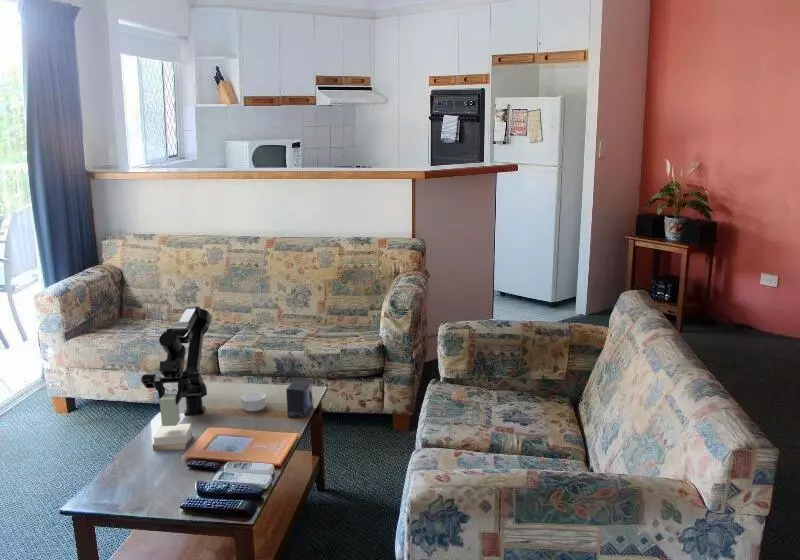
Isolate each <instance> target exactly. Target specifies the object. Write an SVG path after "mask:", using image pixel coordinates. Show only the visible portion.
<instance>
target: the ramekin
mask: <svg viewBox="0 0 800 560" xmlns="http://www.w3.org/2000/svg"><path fill="white" fill-rule="evenodd" d="M240 400H241V401H240V402H241V404H242V405H241V407H242V409H243V410H244V411H247V412H257V411H261V410H263V409H264V408H265V407H266V394H265V393H264V392H255V391H254V392H248V393H245V394H243V395H242V396H240Z"/></svg>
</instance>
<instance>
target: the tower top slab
mask: <svg viewBox="0 0 800 560" xmlns="http://www.w3.org/2000/svg"><path fill="white" fill-rule="evenodd" d="M191 431H192V432H193V430H192V423H180V424H179V423H178V424H177V425H176V426H162V425H159V426H158V429H157V431H156V433H155V435H154V436H153V443H154V445H165V444H179V443H187V441H188V438H189V436H190V434H191Z"/></svg>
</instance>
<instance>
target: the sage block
mask: <svg viewBox="0 0 800 560" xmlns="http://www.w3.org/2000/svg"><path fill="white" fill-rule="evenodd" d="M176 396H177V393H176V394H175V393H173V394H171V393H170V394H165V395H163V396H162V397H161V398H160V399H159V407H160V418H161V426H176V425H177V424H179V423H180V421H181V415H180V414H181V413H180V405H179V403H178V404H177V405H176Z"/></svg>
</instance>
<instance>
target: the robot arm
mask: <svg viewBox="0 0 800 560" xmlns="http://www.w3.org/2000/svg"><path fill="white" fill-rule="evenodd" d="M183 311H184V312H183V314H182V315H181V316H180V318H179V320H178V322H177V323H174V324H172V325H171V326H170V327H169V328H167V329H166V331H164V332H162V334H161V335H160V336H159V338H158V342H159V344H160V345H161V347H162V349H163V350H164V352H165V353H166V359H165V360H161V361H159V372H161V375H162V376H157V375H156V374H155V373H143V374H142V376H141V379H140V382H141V383H142V385H143V386H144V388H146V389H155V390H156V391H157V393H158V398H159V400H160V398H161V397H162V396H163V395H166V394H165V393H166V387H165V386H164V384H174V383H177V393H176V394H177V396H176V405H177V404H179V403H180V402H181V400H182V399H183V398H185V407H186V409H185V411H184V415H185V416H189V415H190V416H191V415H202V414H204V411H205V410H206V406H205V405H203V398H204V397H205V396H208V389H207V385H206V384H205V382H204V379H203V376H202V375H201V372H200V367H201V358H202V352H203V351H202V350H203V342H204V341H203V340H204V335H205V334H207V332H208V330H209V328H210V324H211V322H212V315H211V314H210V312H209V311H208V310H206V309H203V308H201V307H200V306H198V305H190V306H189V305H188V306H185V307H184V310H183ZM184 344H188V352H186V351H187V348H186V346H185V345H184ZM186 354H187V359H186V360H187V361H186V366H184V365H185V358H186ZM185 367H186V368H185ZM204 409H205V410H204Z"/></svg>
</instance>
